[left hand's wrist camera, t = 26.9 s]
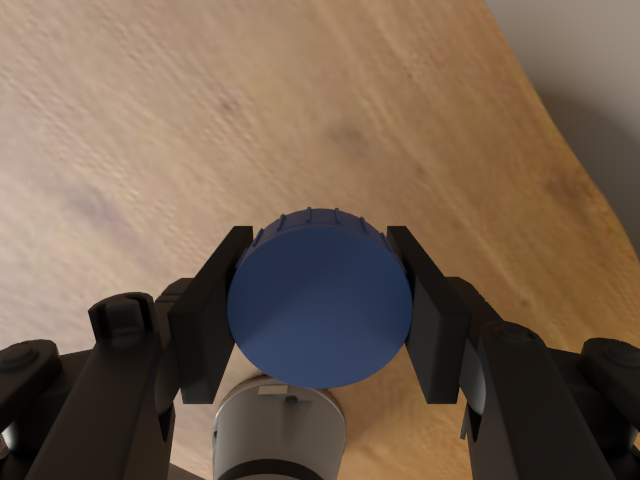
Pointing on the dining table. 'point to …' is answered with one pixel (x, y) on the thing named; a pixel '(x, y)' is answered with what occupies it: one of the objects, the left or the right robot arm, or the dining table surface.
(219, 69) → the dining table surface
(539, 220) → the dining table surface
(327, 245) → the lid
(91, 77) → the dining table surface
